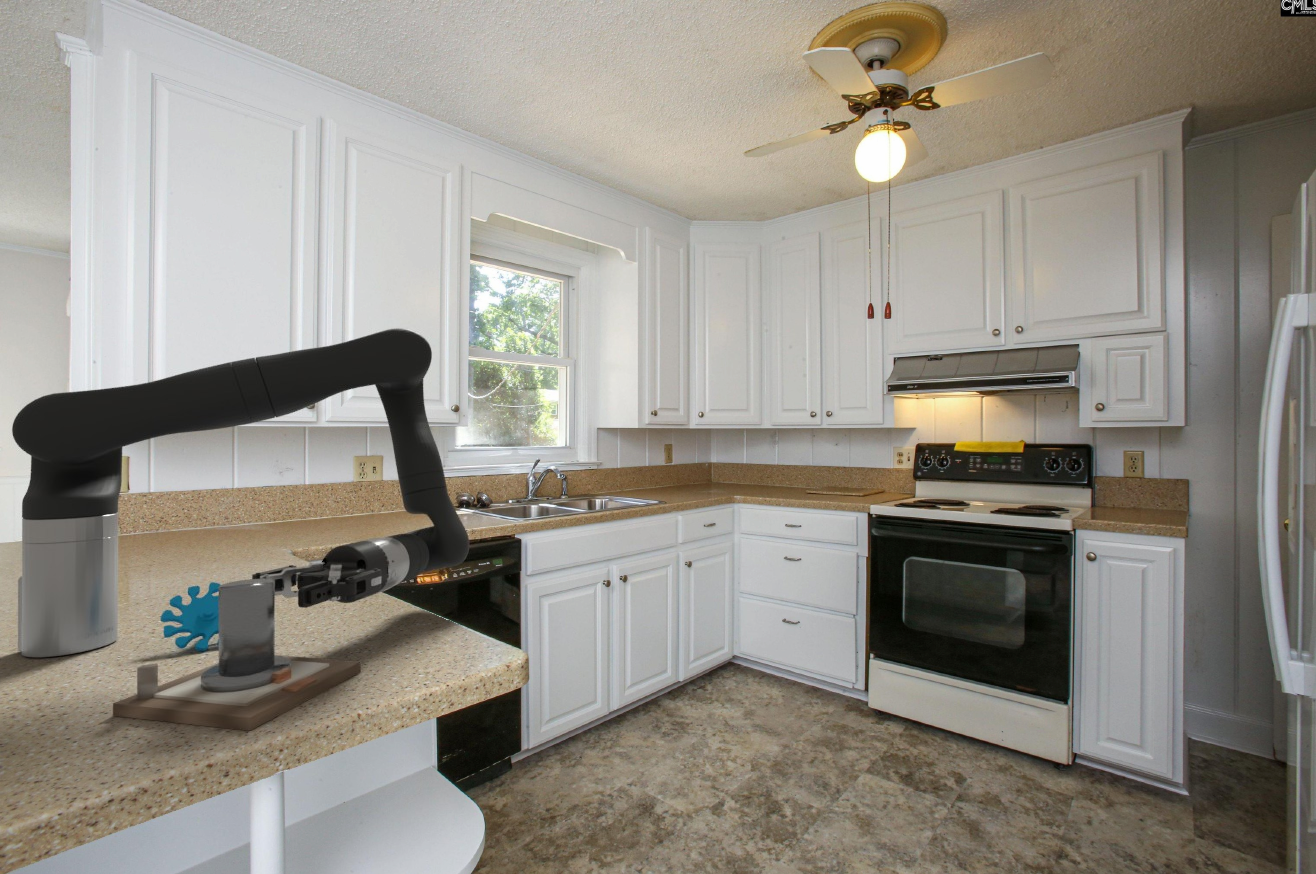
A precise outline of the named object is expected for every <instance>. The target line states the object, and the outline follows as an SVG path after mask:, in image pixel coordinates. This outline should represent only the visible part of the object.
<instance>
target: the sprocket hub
mask: <svg viewBox="0 0 1316 874" xmlns="http://www.w3.org/2000/svg"><path fill="white" fill-rule="evenodd" d="M218 595H219V634H218V639H219V646H218V663H219V665H217V666H214V667H212V668H210V669H208V670H206V671H205V672H204V673H203V674H202V675H201V688H202V689H203V690H205V691H208V692H216V693H225V692H237V691H243V690H249V689H254V688H258V687H262V686H265V685H268V684H271V683H275V684H280V683H282V682H284V681H286V680H289V679H291V660H290V659H289V658H287V657H283V656H284V655H281V656H275V655H276V653H275V652H276V650H275V649H276V647H275V644H276V643H275V642H276V640H275V638H276V636H275V634H276V633H275V632H276V629H275V627H276V621H275V620H276V618H275V617H276V616H275V615H276V613H275V611H276V610H275V609H276V608H275V606H276V603H275V602H276V596H275V581H274V580H272V579H249V578H248V579H241V580H236V581H231V582H227V583H223V584H221V585H220V586H219V591H218Z"/></svg>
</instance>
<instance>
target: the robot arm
mask: <svg viewBox="0 0 1316 874" xmlns="http://www.w3.org/2000/svg"><path fill="white" fill-rule="evenodd" d="M432 356H433V352H432V347H431V345H430V343H429V341H428V340H427V339H426V338H425V337H424V336H423V335H422V334H421V333H419V332H416V331H414V330H411V329H408V328H402V327H401V328H400V327H399V328H398V327H397V328H396V327H395V328H390V329H389V328H388V329H385V330H382V331H378V332H375V333H371V334H368V335H366V336H362V337H358V338H354V339H351V340H347V341H344V342H340V343H337V344H335V343H334V344H331V345H326V346H321V347H320V346H319V347H318V346H317V347H313V348H305V349H299V350H292V351H287V352H281V353H275V354H271V355H262V356H256V357H251V358H246V359H244V358H243V359H240V360H235V361H230V362H224V363H221V364H216V365H212V366H207V367H203V368H198V369H194V370H190V371H186V372H182V373H179V374H175V375H172V376H169V377H165V378H161V379H157V380H153V381H149V382H145V383H139V384H131V385H125V386H118V387H117V386H116V387H115V386H114V387H108V388H100V389H88V390H81V391H68V392H57V393H56V392H55V393H50V394H47V395H43V396H41V397H38V398H35V399H34V400H32V401H31V402H29V403H28V404H26V405H25V406H23V408H22V409H20V410H19V411H18V413H17V415H16V416H15V417H14V420H13V423H12V428H11V434H12V436H13V440H14V442H15V444H16V445H17V446H18V447H19V448H20V449H21V450H22V451H23V452H25V453H26V454H27V455H29V456H30V479H29V484H28V487H27V489H26V492H25V494H24V496H23V497H22V503H21V545H22V547H21V548H22V549H21V555H22V557H21V562H22V563H21V576H20V577H19V578H18V579H17V652H21V655H22V656H23V657H26V658H27V657H28V658H49V657H50V658H51V657H57V656H58V657H59V656H65V655H66V656H67V655H71V654H77V653H82V652H86V651H92V650H95V649H99V648H101V647H105V646H107V645H110V644H112V643H114V642H116V641H117V640H118V638H119V637H118V635H119V632H118V631H119V630H118V628H119V623H118V622H119V513H118V512H119V498H120V494H121V490H122V476H123V473H122V471H123V470H122V469H123V447H126V446H129V445H133V444H136V443H140V442H143V441H147V440H151V439H155V438H158V437H163V436H169V435H174V434H182V433H183V434H184V433H193V432H203V431H204V432H206V431H212V430H219V429H220V430H221V429H227V428H233V427H239V426H245V425H249V424H253V423H259V422H262V421H267V420H271V419H275V418H280V417H283V416H286V415H290V414H293V413H295V412H298V411H300V410H304V409H306V408H308V407H310V406H312V405H314V404H317V403H320V402H321V401H323V400H326V399H328V398H330V397H332V396H334V395H337V394H339V393H343V392H345V391H349V390H354V389H358V388H362V387H370V386H375V388H376V390H377V393H378V396H379V398H380V401H381V404H382V407H383V409H384V413H385V416H386V419H387V423H388V428H389V430H390V436H391V442H392V448H393V453H394V461H395V467H396V473H397V478H398V483H399V488H400V494H401V497H402V503H403V508H404V510H405V511H406V512H407V513H408V514H411V515H426V516H427V517H428V518H429V520H430V521H431V522H432V524H433V526H428V527H424V528H420V529H419V528H418V529H415V530H412V531H408V532H405V533H399V534H394V535H389V536H388V535H387V536H386V537H385V536H384V537H372V538H368V539H364V540H360V541H354V542H351V543H347V544H342V545H338V546H335V547H334V548H332V549H330V550H329V551H328V552H327V553H326V554H325V556H324V557H323V559H322V560H321V561H320V562H314V563H309V564H308V565H305V566H297V565H293V564H290V565H288V566H284V567H280V568H275V569H274V568H273V569H271V570H270V569H269V570H265V571H261V572H255V573H252V574H251V578H252V579H272V580H274V581H275V597H276V596H283V597H284V598H286V599H290V598H291V599H292V598H296V597H297V605H298V607H299V608H305V609H306V608H310V607H312V606H316V605H319V604H322V603H324V602H327V601H328V602H338V603H341V604H351V603H355V602H358V601H360V600H362V599H366V598H369V597H371V596H374V595H376V594H379V593H382V592H385V591H387V590H390V589H391V588H393V587H394V586H397V585H399V584H402V583H404V582H409V581H410V580H414V579H415V578H416V577H418V576H420V575H421V574H423V573H428V572H432V571H437V570H442V569H445V568H446V569H447V568H451V567H455V566H459V565H461V564H463V562H464V561H465V560H466V559H467V557H468V555H469V550H470V538H469V535H468V532H467V530H466V528H465V526H464V524H463V522H462V520H461V518H460V516H459V514H458V512H457V511H456V508H455V506H454V504H453V502H452V500H451V497H450V495H449V492H448V488H447V482H446V477H445V472H444V467H443V462H442V458H441V455H440V452H439V449H438V447H437V444H436V441H435V438H434V435H433V433H432V430H431V428H430V424H429V421H428V416H427V412H426V405H425V398H424V397H425V396H424V395H425V393H424V378H425V376H426V375H427V373H428V371H429V370H430V367H431V363H432V359H433V358H432ZM294 586H296V587H297V590H292V588H293V587H294Z"/></svg>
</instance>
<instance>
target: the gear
mask: <svg viewBox="0 0 1316 874" xmlns="http://www.w3.org/2000/svg"><path fill="white" fill-rule="evenodd" d="M220 585H222V584H221V583H219V582H214V581H212V582H210V583H209V585H208V591H206V592H207V593H206V594H204V596H202V597H198V595H200V593H201V592H200V591H201V587H200V586H199V585H194V586H193V585H192V586H189V587H188V588H187V595H188V596H189V598H191V599H190V600H191V601H190V603H189V604H183V597H182V596H181V595H176V596H173V597H171V599H169V605H170V607H172V608H176V609H178V610H179V611H180V612H181V613H182V614H180V615H175V614H174V613H173V611H172V610H171V609H165V610H164V611H163V612H162V614H161V616H160V621H161V622H162V623H170V622H171V623H172V622H173V623H177V624H180V625H181V626H178V627H176V626H174V625H171V624H169V625H165V626H163V637H164V638H171V637H173V636H175V635H178V634H182V633H183V634H184V633H185V634H186V633H187V634H188V635H185V636H184V635H183V636H182V635H181V636H178V637H177V638H176V639H175V642H174V643H175V644H174V645H176V647H177V648H178V649H180V650H183V649H185V648H186V647H187V646H188V644H189V643H190V642H192V641H193V640H195V639H197V638H199V637H202V639H201V640H198V641H197V642H196V644H195V648H194V649H195V650H196V651H199V652H207V650H208V648H209V642H210V640H211V639H212V638H213V636H216V635H219V594H217V595H213V594H216V593H219V586H220ZM217 646H218V647H219V638H218V639H217Z"/></svg>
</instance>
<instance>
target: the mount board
mask: <svg viewBox="0 0 1316 874" xmlns="http://www.w3.org/2000/svg"><path fill="white" fill-rule="evenodd" d="M275 656H283V657H287V658H289V659H290V660H291V679H289V680H286V681H284V682H282V683H280V684H275V683H271V684H268V685H265V686H262V687H258V688H254V689H249V690H243V691H237V692H225V693H216V692H208V691H205V690H203V689H202V688H201V675H202V674H203V673H204V672H205V671H206V670H208V669H210V668H212V667H214V666H217V665H219V662H217V663H215V664H212V665H210V666H207V667H204V668H202V669H200V670H196V671H194V672H191V673H189V674H186V675H184V676H181V677H179V678H178V677H177V678H176V679H173V680H171V681H168V682H165V683H163V684H160V685H159V679H158V678H159V675H158V674H159V672H158V670H159V665H158V663H149V664H143V665H140V666H138V667H137V668H136V689H137V690H136V694H134V695H131V696H129V697H125V698H124V699H120V700H119V701H115V702H113V703H112V717H122V718H130V719H139V720H146V721H147V720H149V721H157V722H159V721H160V722H167V723H175V724H183V725H184V724H185V725H193V726H201V727H210V728H211V727H213V728H222V729H231V730H238V731H239V730H240V731H248V732H251V730H254V729H256V728H257V727H260V726H262V725H264V724H265V723H267V722H269V721H270V720H273V719H274V718H276V717H278V716H281V715H282V714H284V713H286V712H287V711H289V710H292V709H294V708H295V707H297V706H299V705H302V704H303V703H304V702H307V701H309V700H311V699H312V698H315V697H316V696H318V695H321V694H322V693H325V692H326V691H327V690H330V689H332V688H333V687H335V686H337V685H339V684H340V683H342V682H345V681H346V680H349V679H351V678H353V677H354V676H355V675H357V674H360V673H361V671H362V669H361V668H362V667H361V666H362V665H361V663H362V662H361V661H358V660H357V661H354V660H343V659H331V658H330V659H329V658H320V657H319V658H317V657H307V656H306V657H304V656H292V655H281V654H280V655H278V654H275Z"/></svg>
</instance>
